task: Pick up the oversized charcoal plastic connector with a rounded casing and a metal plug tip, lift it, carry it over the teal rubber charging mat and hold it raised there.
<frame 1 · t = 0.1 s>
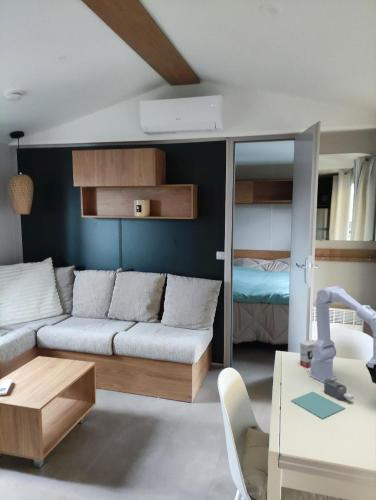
connector: (335, 395, 153), on the table
charging mat: (317, 404, 146), on the table
ink box: (309, 365, 184), on the table
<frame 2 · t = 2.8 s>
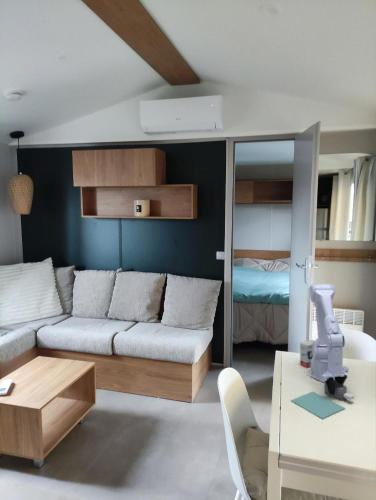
hand: (335, 392, 153), 1 cm above the table, tool pointing down, fingers closed on connector, 4 cm apart
connector: (335, 395, 153), on the table, touching gripper
everything else where it was.
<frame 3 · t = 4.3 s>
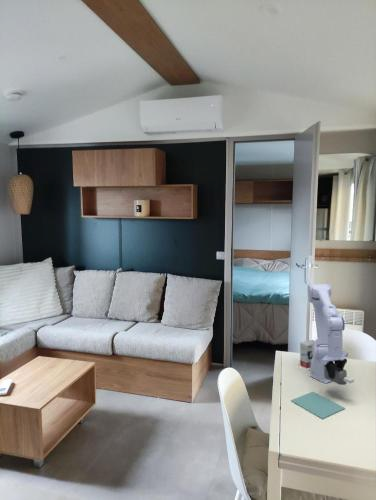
hand: (335, 376, 152), 8 cm above the table, tool pointing down, fingers closed on connector, 4 cm apart
connector: (335, 379, 152), point 7 cm above the table, touching gripper
everything else where it was.
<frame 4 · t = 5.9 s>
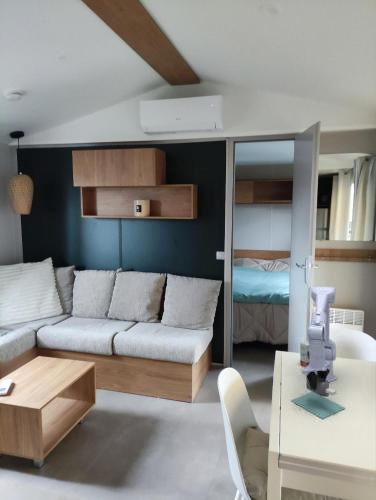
hand: (317, 387, 146), 7 cm above the table, tool pointing down, fingers closed on connector, 4 cm apart
connector: (317, 390, 146), point 6 cm above the table, touching gripper
everything else where it was.
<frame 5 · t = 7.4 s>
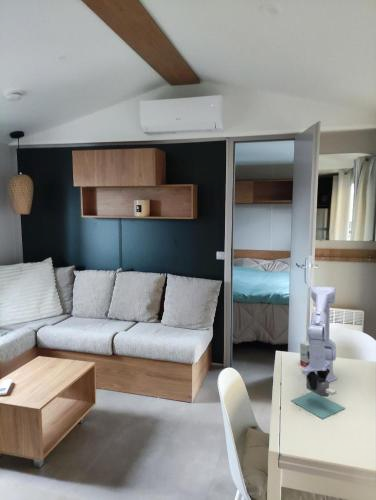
hand: (317, 387, 146), 7 cm above the table, tool pointing down, fingers closed on connector, 4 cm apart
connector: (317, 390, 146), point 6 cm above the table, touching gripper
everything else where it was.
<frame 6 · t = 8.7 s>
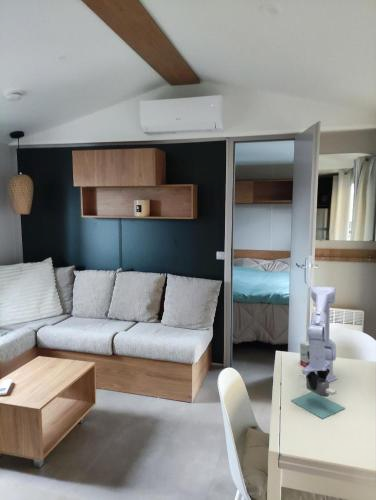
hand: (317, 387, 146), 7 cm above the table, tool pointing down, fingers closed on connector, 4 cm apart
connector: (317, 390, 146), point 6 cm above the table, touching gripper
everything else where it was.
at the end: the gripper is holding connector; connector point 6.0 cm above the table; connector inside the target area on the charging mat (0.1 cm from its centre), point 6.0 cm above the charging mat's base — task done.
